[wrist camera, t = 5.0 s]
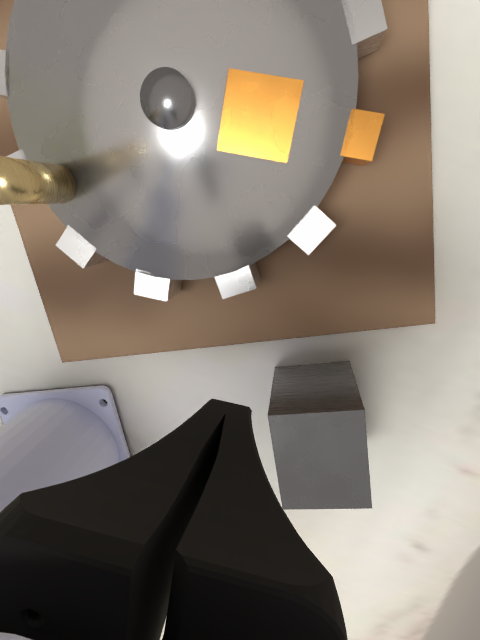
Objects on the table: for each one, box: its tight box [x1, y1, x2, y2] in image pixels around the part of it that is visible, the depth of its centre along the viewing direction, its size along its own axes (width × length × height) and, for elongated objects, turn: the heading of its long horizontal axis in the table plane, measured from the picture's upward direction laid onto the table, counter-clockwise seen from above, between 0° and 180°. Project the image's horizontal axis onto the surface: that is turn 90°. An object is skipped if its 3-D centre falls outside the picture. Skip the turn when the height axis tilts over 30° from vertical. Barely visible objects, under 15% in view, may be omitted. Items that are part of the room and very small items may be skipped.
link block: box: [268, 361, 372, 509], centre depth 19 cm, size 5×4×5 cm
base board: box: [0, 0, 435, 362], centre depth 17 cm, size 22×20×1 cm
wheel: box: [0, 0, 387, 301], centre depth 14 cm, size 16×16×6 cm
